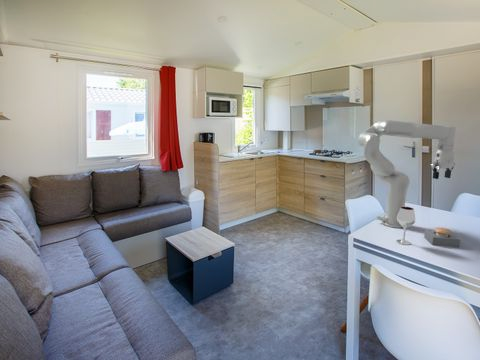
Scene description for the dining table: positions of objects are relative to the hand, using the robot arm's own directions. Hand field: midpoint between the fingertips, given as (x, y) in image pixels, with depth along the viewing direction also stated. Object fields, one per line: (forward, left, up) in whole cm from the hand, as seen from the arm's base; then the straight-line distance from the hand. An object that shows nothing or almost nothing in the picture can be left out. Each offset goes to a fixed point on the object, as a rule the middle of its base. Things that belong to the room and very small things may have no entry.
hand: (441, 178), depth 171 cm
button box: (-8, -28, -28) cm, 41 cm away
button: (-8, -28, -27) cm, 40 cm away
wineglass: (-27, -33, -29) cm, 51 cm away
